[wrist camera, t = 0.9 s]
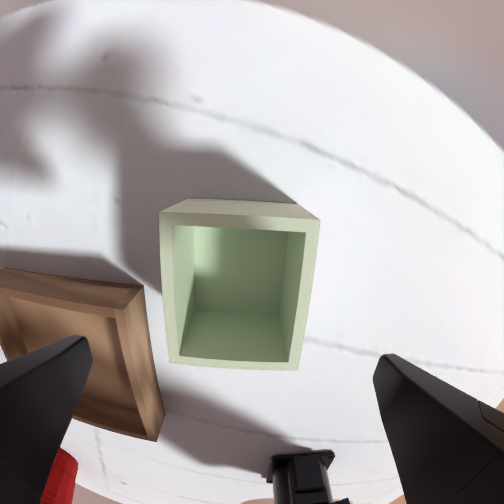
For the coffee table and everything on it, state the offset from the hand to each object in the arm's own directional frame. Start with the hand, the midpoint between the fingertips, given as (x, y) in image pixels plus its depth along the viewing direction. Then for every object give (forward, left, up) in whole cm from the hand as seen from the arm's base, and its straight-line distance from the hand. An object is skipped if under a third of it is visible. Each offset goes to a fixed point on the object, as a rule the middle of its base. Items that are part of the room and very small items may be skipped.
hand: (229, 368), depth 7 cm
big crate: (-8, +13, -9) cm, 18 cm away
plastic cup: (-33, +26, -9) cm, 43 cm away
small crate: (0, 0, -9) cm, 9 cm away
